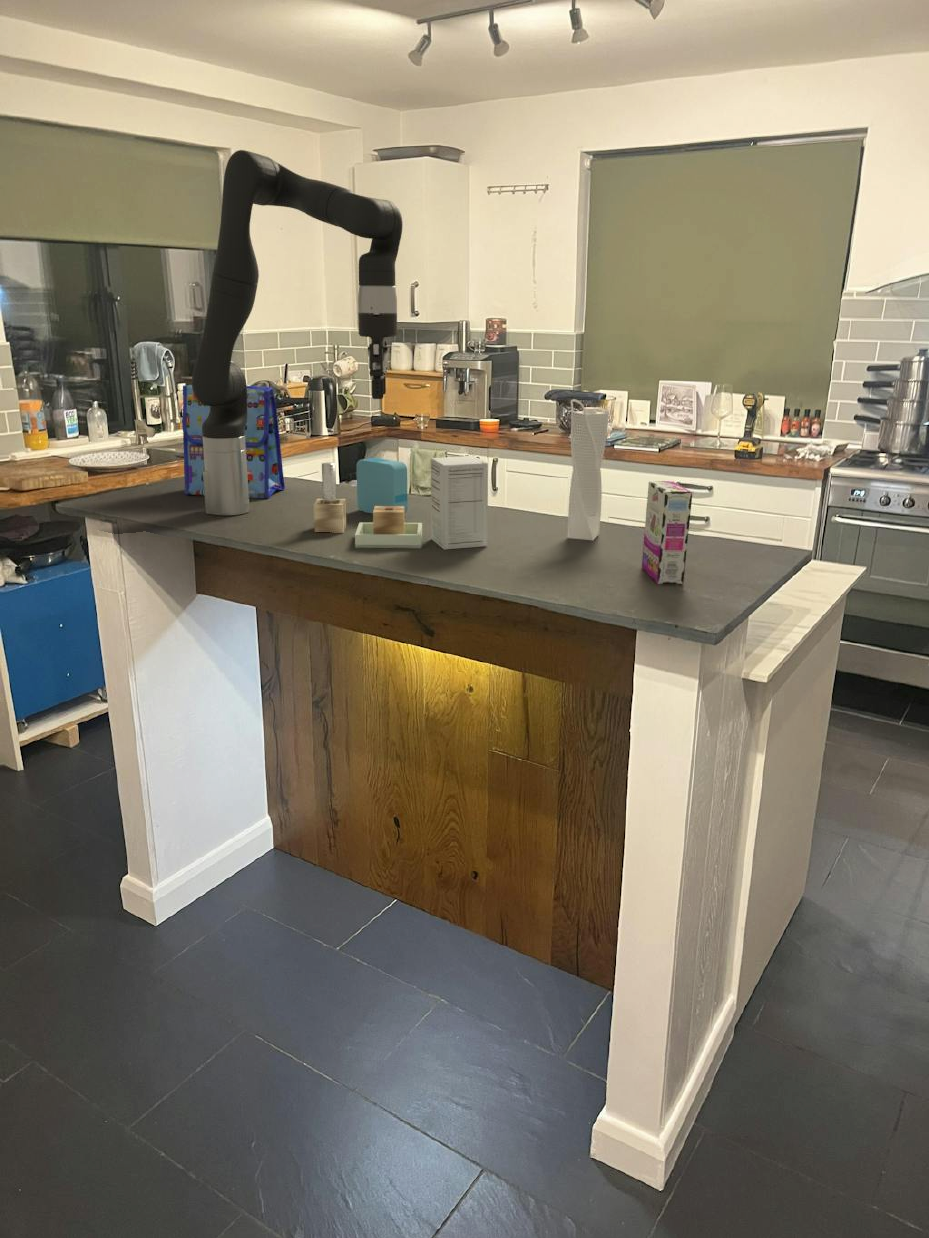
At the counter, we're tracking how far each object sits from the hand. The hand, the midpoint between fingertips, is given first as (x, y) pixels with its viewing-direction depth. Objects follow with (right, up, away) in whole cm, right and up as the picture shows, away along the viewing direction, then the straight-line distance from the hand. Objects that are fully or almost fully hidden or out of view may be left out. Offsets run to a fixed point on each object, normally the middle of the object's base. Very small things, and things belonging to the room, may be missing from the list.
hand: (379, 396), depth 186 cm
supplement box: (+16, -29, +3) cm, 33 cm away
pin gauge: (-11, -25, +13) cm, 30 cm away
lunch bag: (-40, -13, +50) cm, 65 cm away
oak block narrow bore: (+2, -28, +3) cm, 28 cm away
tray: (+2, -29, +3) cm, 29 cm away
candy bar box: (+53, -37, -19) cm, 67 cm away
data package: (-2, -20, +29) cm, 35 cm away
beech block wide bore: (-11, -25, +12) cm, 30 cm away
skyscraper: (+42, -27, +9) cm, 51 cm away
